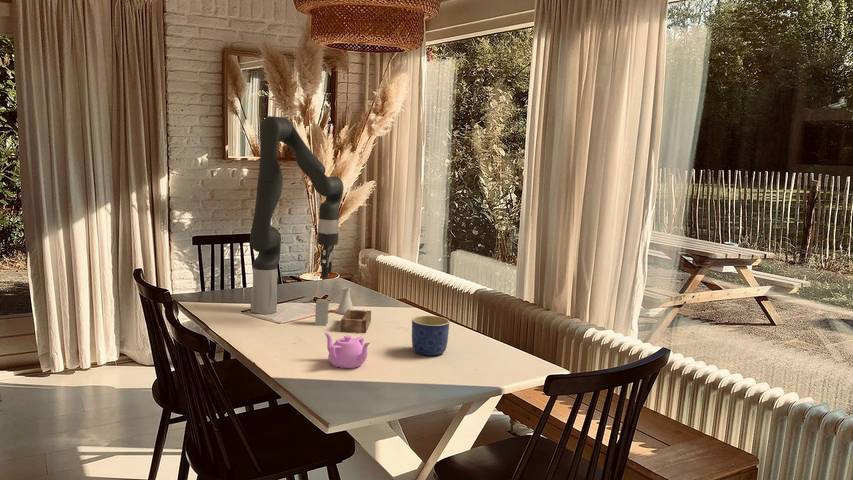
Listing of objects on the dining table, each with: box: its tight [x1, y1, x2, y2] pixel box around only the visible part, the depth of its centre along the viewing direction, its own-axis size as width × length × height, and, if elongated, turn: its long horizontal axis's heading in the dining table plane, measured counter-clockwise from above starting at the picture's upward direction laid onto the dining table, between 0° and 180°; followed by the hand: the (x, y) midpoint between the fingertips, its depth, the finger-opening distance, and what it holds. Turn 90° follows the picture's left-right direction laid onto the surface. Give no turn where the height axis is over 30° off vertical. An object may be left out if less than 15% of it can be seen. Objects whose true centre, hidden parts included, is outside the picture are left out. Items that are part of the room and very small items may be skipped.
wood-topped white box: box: [314, 298, 330, 327], centre depth 260 cm, size 4×4×9 cm
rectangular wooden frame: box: [340, 309, 372, 334], centre depth 259 cm, size 9×15×4 cm, turn 177°
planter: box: [411, 315, 450, 356], centre depth 233 cm, size 12×12×11 cm
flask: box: [336, 286, 355, 315], centre depth 279 cm, size 7×7×10 cm
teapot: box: [323, 331, 371, 369], centre depth 217 cm, size 12×14×9 cm
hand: (326, 274), depth 259 cm, fingers open, 8 cm apart
